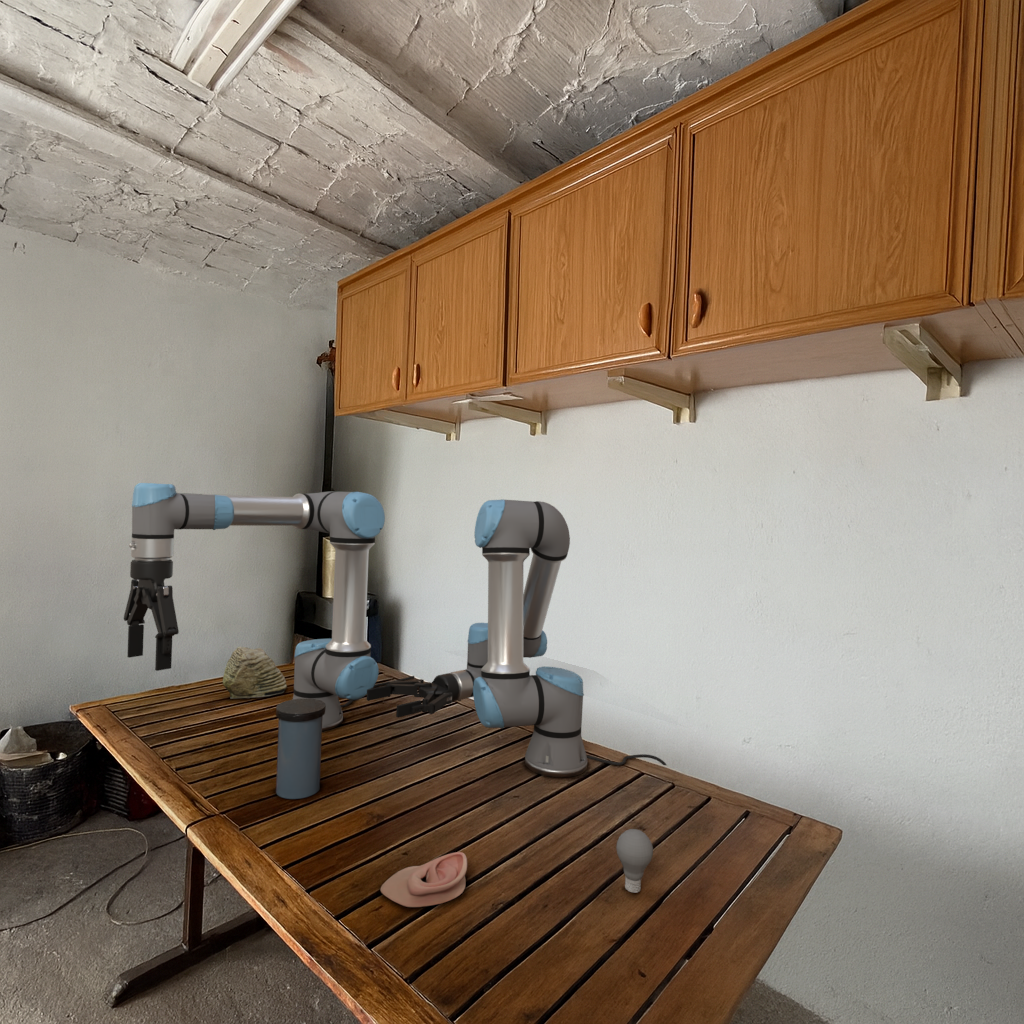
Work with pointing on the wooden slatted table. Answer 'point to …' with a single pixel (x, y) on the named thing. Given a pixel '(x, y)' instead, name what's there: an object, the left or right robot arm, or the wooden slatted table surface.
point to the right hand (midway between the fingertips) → (381, 703)
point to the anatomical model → (428, 882)
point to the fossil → (252, 674)
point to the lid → (300, 710)
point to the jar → (298, 758)
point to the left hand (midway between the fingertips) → (148, 662)
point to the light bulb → (634, 857)
